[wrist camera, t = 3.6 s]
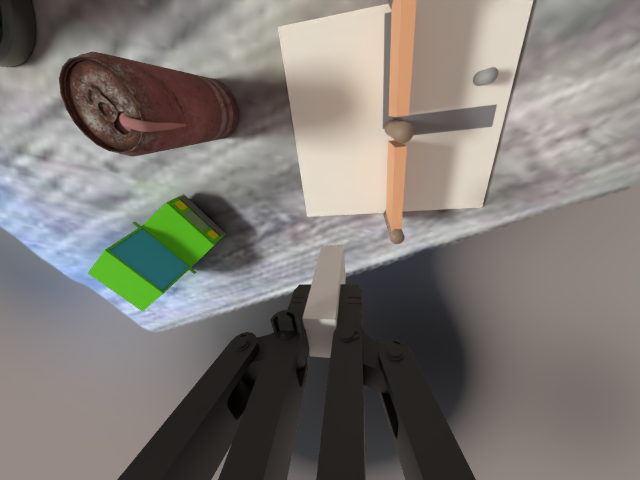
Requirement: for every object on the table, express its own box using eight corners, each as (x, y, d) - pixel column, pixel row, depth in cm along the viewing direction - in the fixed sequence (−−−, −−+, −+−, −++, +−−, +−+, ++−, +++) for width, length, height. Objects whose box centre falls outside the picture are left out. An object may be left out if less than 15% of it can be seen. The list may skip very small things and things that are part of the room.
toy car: (237, 234, 35) (199, 274, 26) (192, 272, 40) (149, 315, 32) (183, 183, 32) (120, 209, 23) (143, 231, 37) (80, 267, 29)
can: (242, 143, 28) (157, 167, 16) (193, 132, 28) (73, 148, 16) (243, 85, 25) (138, 61, 13) (188, 73, 25) (33, 38, 13)
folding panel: (385, 140, 25) (394, 148, 19) (398, 139, 25) (411, 147, 19) (383, 218, 30) (390, 244, 24) (394, 218, 29) (403, 243, 24)
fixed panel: (387, -9, 20) (401, -63, 14) (406, -13, 19) (429, -70, 13) (384, 136, 25) (393, 144, 19) (399, 134, 25) (413, 142, 19)
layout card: (279, 28, 22) (271, 19, 20) (536, -26, 18) (560, -44, 16) (307, 215, 32) (304, 222, 30) (480, 206, 28) (490, 213, 26)
